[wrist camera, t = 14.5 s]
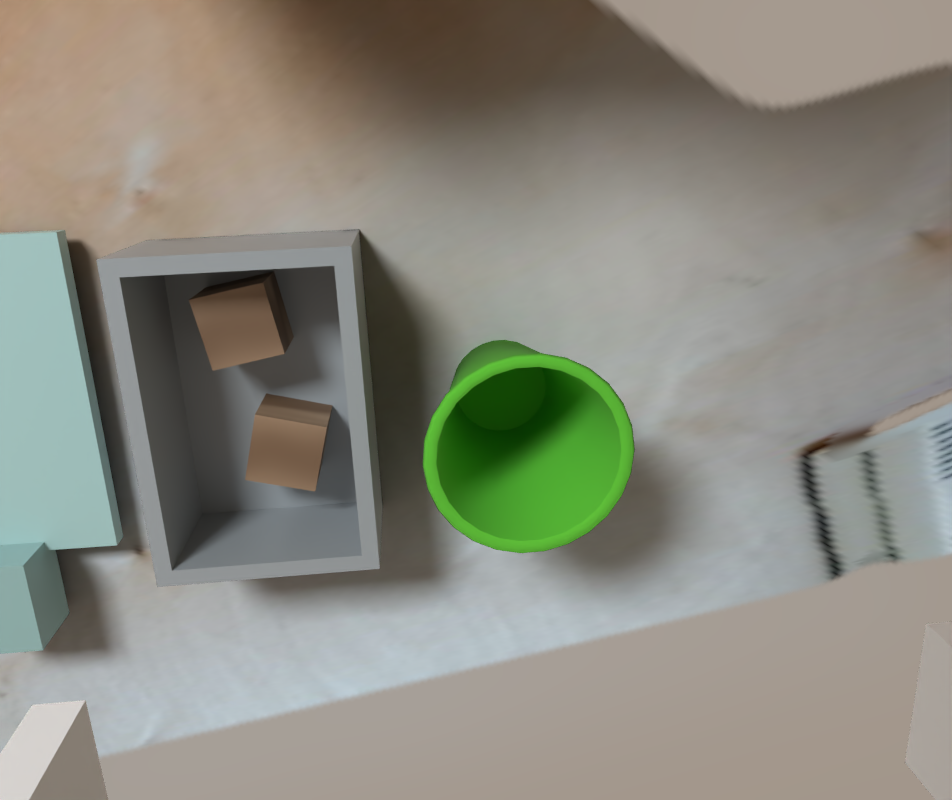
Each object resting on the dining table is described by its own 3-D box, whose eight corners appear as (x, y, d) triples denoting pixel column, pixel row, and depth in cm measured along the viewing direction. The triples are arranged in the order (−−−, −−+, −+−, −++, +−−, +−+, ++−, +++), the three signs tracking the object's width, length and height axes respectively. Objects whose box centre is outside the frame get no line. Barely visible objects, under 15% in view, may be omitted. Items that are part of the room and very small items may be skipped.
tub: (146, 240, 40) (96, 259, 34) (359, 229, 41) (351, 246, 34) (193, 521, 45) (157, 587, 38) (382, 507, 46) (379, 568, 39)
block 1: (206, 287, 40) (188, 300, 37) (274, 271, 40) (262, 282, 37) (227, 352, 41) (212, 370, 38) (294, 337, 42) (284, 353, 38)
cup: (510, 489, 46) (542, 591, 36) (384, 398, 44) (379, 478, 33) (613, 370, 45) (678, 440, 34) (487, 269, 42) (516, 310, 32)
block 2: (266, 393, 42) (254, 414, 39) (332, 405, 43) (326, 427, 40) (256, 454, 43) (244, 480, 40) (321, 465, 44) (315, 491, 40)
